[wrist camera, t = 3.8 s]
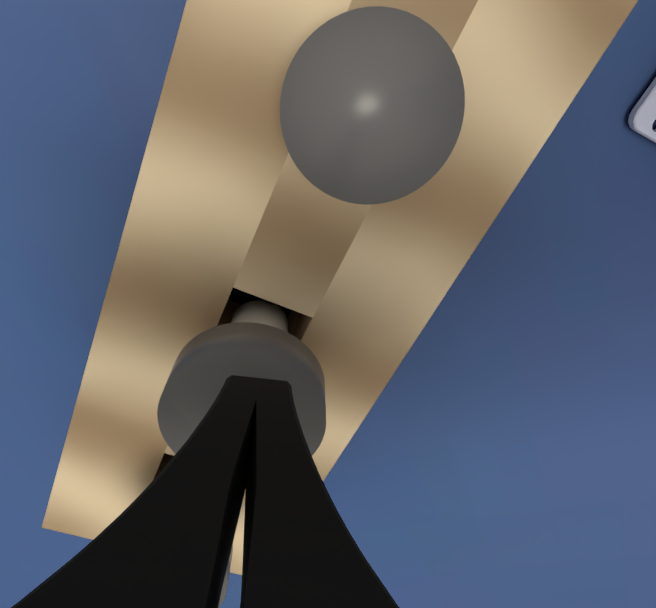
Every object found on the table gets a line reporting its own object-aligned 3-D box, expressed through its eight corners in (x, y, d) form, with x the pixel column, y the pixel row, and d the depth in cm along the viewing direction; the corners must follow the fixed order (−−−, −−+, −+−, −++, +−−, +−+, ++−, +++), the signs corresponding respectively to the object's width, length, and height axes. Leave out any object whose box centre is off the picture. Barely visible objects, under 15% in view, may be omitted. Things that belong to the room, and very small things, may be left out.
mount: (271, -177, 13) (256, -254, 10) (564, 7, 15) (638, -1, 12) (80, 456, 24) (41, 527, 21) (265, 507, 27) (258, 579, 23)
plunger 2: (449, 55, 15) (502, 64, 11) (383, 181, 17) (407, 230, 13) (322, -15, 14) (327, -35, 10) (268, 127, 16) (252, 160, 12)
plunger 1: (343, 297, 16) (354, 389, 12) (293, 389, 18) (288, 497, 14) (220, 248, 15) (185, 329, 11) (180, 351, 17) (138, 454, 13)
